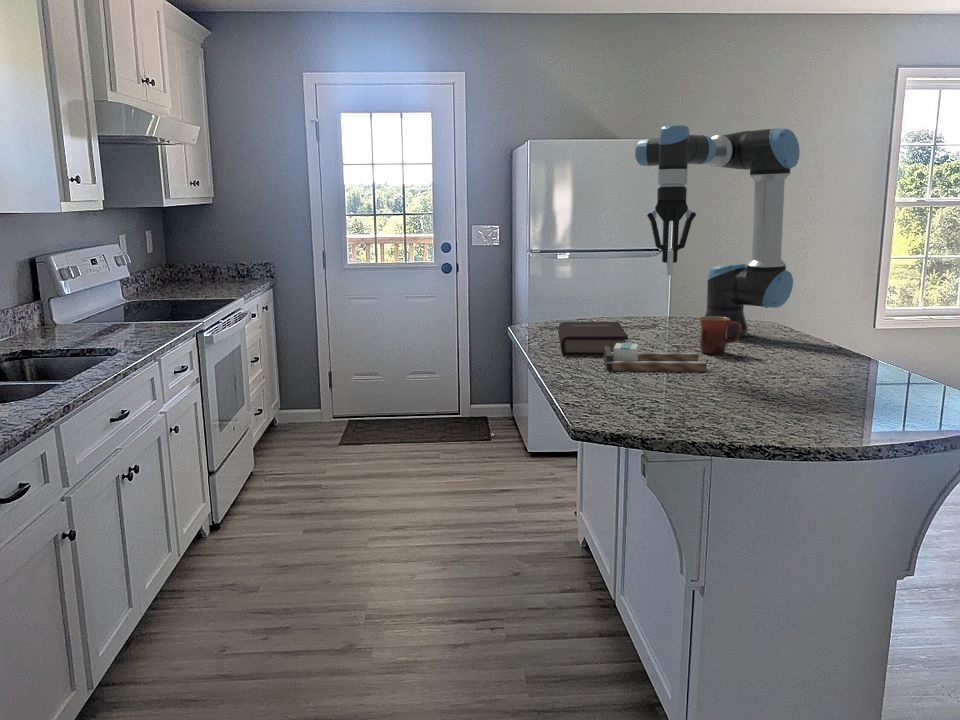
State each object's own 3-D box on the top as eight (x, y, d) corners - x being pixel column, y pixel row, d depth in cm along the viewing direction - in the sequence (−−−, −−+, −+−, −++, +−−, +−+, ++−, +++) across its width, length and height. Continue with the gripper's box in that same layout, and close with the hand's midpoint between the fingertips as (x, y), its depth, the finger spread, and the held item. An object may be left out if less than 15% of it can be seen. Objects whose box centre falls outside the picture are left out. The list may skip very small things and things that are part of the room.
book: (557, 339, 259) (558, 321, 258) (617, 339, 258) (618, 321, 257) (560, 356, 232) (560, 336, 231) (627, 356, 231) (628, 336, 229)
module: (637, 363, 220) (638, 343, 219) (635, 369, 212) (636, 348, 211) (615, 362, 221) (616, 342, 220) (613, 368, 214) (613, 347, 213)
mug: (694, 354, 230) (696, 319, 228) (700, 349, 238) (701, 315, 235) (737, 357, 225) (739, 321, 223) (741, 352, 233) (743, 317, 231)
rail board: (697, 360, 221) (697, 346, 220) (706, 371, 208) (706, 356, 207) (603, 360, 223) (603, 346, 223) (606, 370, 210) (607, 355, 209)
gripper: (694, 185, 212) (691, 273, 217) (645, 186, 214) (643, 273, 218) (699, 185, 205) (695, 276, 210) (648, 186, 206) (646, 276, 211)
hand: (669, 274), depth 214 cm, fingers closed
